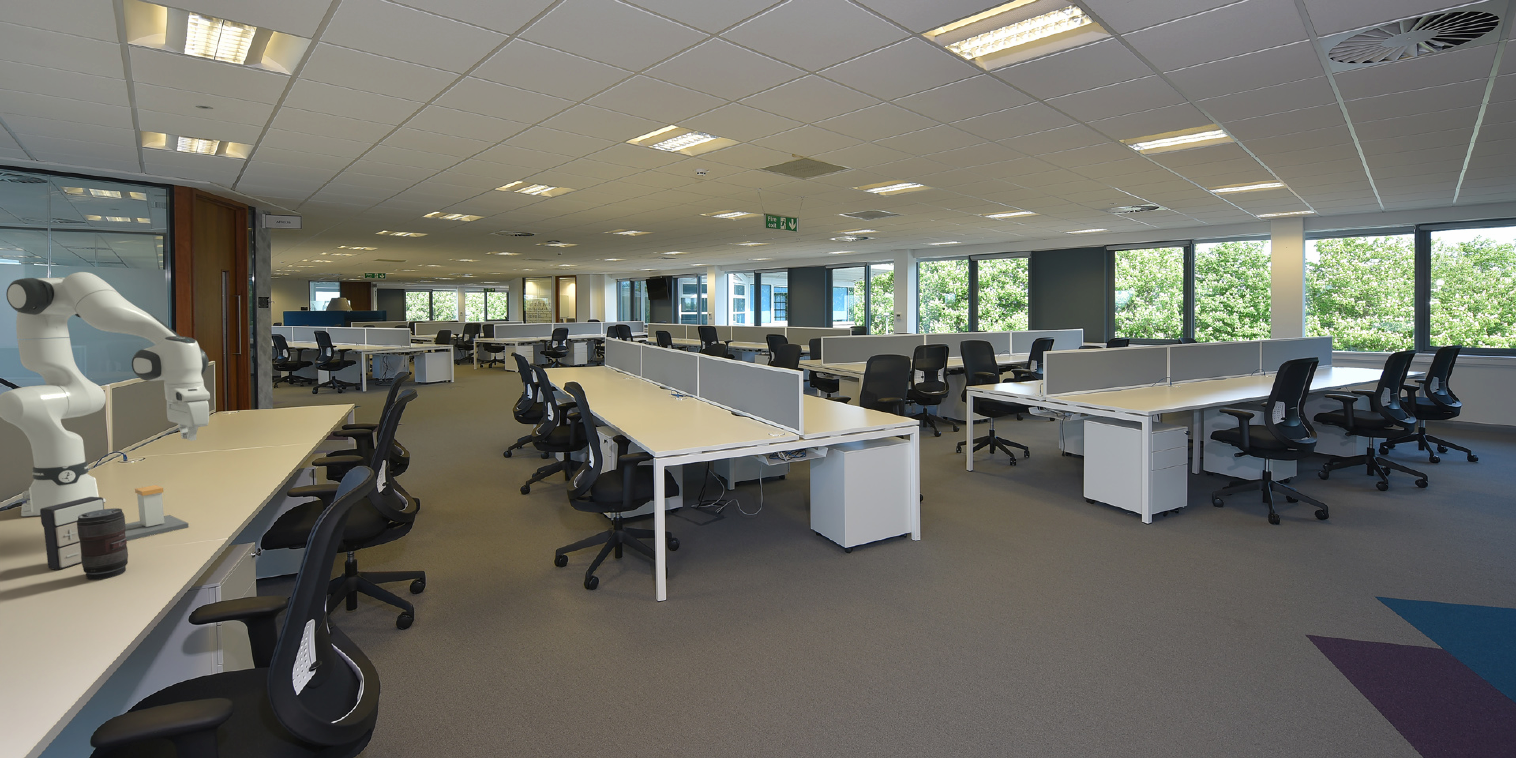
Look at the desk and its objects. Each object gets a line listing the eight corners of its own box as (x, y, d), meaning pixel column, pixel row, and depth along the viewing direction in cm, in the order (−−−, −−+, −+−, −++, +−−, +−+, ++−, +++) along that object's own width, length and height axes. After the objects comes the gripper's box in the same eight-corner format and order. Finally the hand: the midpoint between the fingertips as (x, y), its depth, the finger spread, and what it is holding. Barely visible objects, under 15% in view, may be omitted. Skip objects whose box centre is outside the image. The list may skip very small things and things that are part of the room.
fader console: (57, 542, 183) (56, 537, 183) (169, 518, 203) (169, 514, 203) (73, 552, 175) (72, 547, 175) (188, 527, 195) (188, 522, 195)
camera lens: (126, 565, 167) (120, 505, 165) (132, 573, 162) (127, 511, 160) (80, 575, 161) (73, 513, 159) (85, 584, 156) (78, 520, 154)
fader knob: (138, 523, 194) (134, 488, 192) (158, 519, 197) (155, 485, 196) (145, 527, 191) (142, 491, 189) (166, 522, 194) (163, 487, 193)
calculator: (60, 570, 163) (53, 509, 162) (46, 569, 164) (39, 508, 163) (111, 554, 174) (105, 497, 172) (98, 553, 175) (92, 496, 173)
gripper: (157, 391, 201) (161, 437, 203) (185, 396, 190) (189, 445, 192) (184, 388, 207) (188, 433, 208) (212, 393, 196) (216, 441, 197)
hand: (188, 439), depth 200 cm, fingers open, 3 cm apart
